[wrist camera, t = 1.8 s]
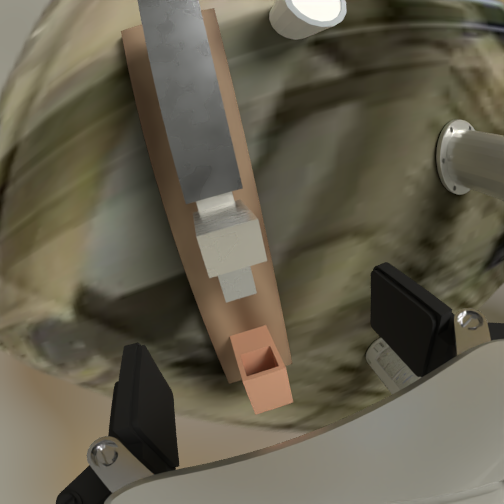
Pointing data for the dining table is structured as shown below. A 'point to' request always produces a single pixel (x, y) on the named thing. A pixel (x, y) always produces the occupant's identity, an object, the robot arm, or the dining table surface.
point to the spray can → (389, 366)
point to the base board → (181, 214)
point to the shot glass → (305, 16)
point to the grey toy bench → (189, 98)
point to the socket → (261, 369)
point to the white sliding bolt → (229, 243)
